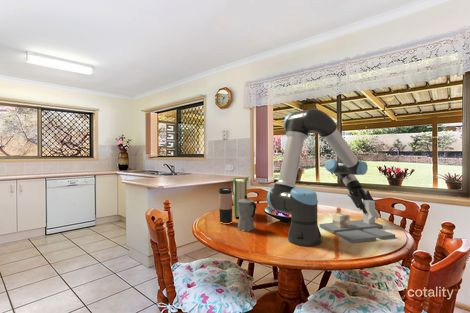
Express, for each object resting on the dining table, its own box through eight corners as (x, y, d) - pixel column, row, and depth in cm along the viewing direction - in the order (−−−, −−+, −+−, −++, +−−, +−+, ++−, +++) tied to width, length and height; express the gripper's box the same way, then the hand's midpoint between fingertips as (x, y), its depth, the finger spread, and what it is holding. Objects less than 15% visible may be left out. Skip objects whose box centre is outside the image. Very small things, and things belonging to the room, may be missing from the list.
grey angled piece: (333, 233, 123) (333, 206, 123) (319, 226, 135) (319, 201, 135) (382, 227, 131) (382, 202, 131) (365, 222, 143) (365, 198, 143)
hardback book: (247, 218, 155) (246, 180, 155) (235, 218, 155) (234, 180, 155) (244, 212, 173) (244, 177, 173) (233, 212, 173) (233, 177, 172)
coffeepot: (232, 227, 137) (231, 194, 136) (246, 224, 142) (245, 193, 142) (248, 234, 124) (248, 198, 124) (263, 231, 129) (262, 196, 129)
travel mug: (220, 221, 150) (219, 188, 150) (232, 221, 150) (232, 187, 150) (218, 224, 142) (218, 189, 142) (232, 224, 142) (231, 189, 142)
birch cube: (339, 227, 128) (339, 215, 128) (332, 224, 134) (332, 213, 133) (349, 226, 129) (349, 215, 129) (342, 223, 135) (341, 212, 135)
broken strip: (352, 243, 110) (352, 239, 110) (335, 235, 121) (335, 232, 121) (395, 237, 116) (395, 234, 116) (376, 230, 127) (376, 227, 127)
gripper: (360, 186, 153) (383, 220, 137) (337, 188, 149) (357, 223, 133) (367, 179, 148) (391, 212, 132) (342, 180, 143) (365, 215, 128)
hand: (374, 217), depth 132 cm, fingers closed on grey angled piece, 4 cm apart
